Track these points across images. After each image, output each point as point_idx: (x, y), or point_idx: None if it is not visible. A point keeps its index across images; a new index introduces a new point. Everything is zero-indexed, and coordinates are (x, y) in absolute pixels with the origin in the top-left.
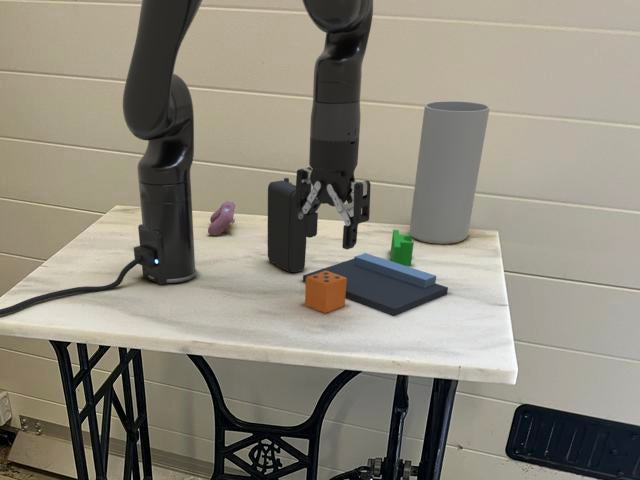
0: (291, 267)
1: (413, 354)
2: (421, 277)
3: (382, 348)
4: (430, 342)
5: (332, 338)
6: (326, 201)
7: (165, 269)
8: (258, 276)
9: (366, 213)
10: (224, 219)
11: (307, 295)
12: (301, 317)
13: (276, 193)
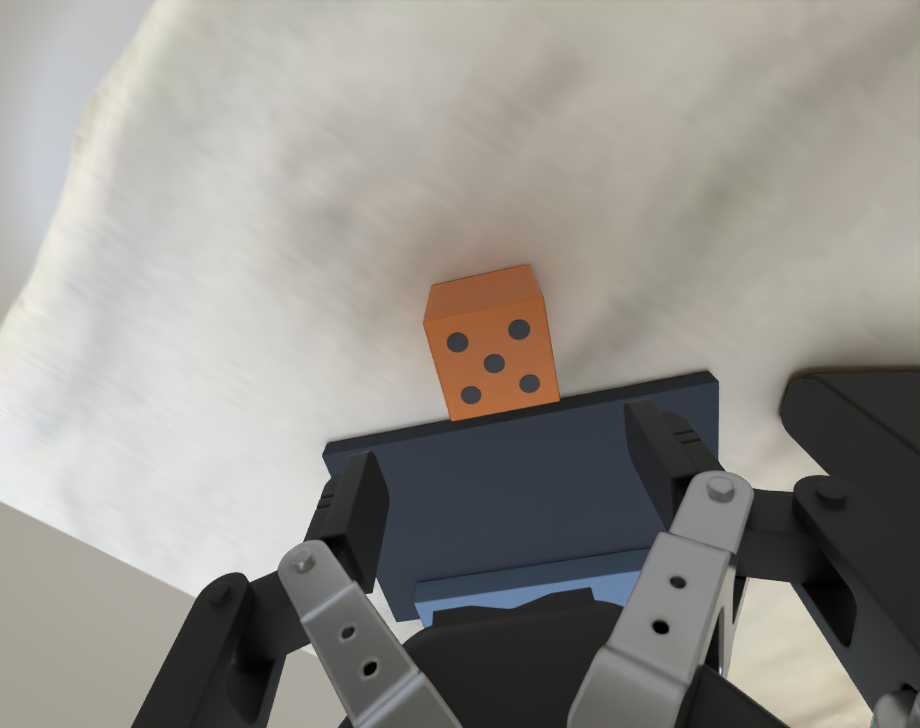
0: (805, 384)
1: (60, 340)
2: (434, 605)
3: (117, 289)
4: (130, 420)
5: (231, 190)
6: (517, 619)
7: None
8: (870, 262)
9: (230, 680)
10: None
11: (521, 277)
12: (440, 192)
13: None
